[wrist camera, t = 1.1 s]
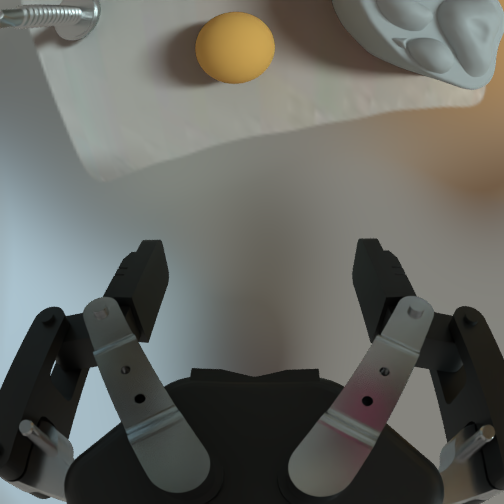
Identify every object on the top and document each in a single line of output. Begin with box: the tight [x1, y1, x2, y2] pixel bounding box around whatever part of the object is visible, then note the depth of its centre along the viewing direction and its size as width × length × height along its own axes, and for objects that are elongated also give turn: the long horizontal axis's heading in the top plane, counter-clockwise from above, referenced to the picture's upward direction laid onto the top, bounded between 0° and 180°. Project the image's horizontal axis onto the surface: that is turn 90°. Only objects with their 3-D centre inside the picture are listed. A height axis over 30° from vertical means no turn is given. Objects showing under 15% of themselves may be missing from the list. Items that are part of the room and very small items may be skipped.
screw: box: [0, 0, 101, 40], centre depth 15 cm, size 13×5×5 cm
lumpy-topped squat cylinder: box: [332, 0, 504, 90], centre depth 17 cm, size 10×13×9 cm
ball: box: [195, 12, 275, 84], centre depth 21 cm, size 6×6×6 cm
